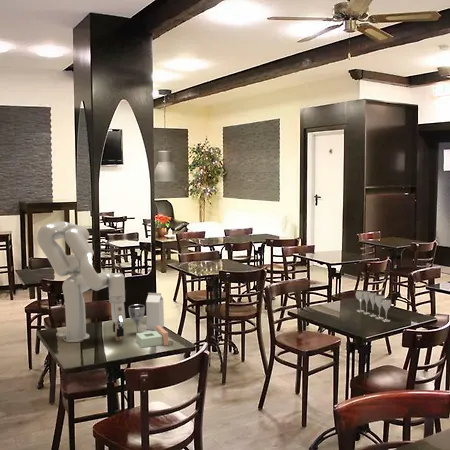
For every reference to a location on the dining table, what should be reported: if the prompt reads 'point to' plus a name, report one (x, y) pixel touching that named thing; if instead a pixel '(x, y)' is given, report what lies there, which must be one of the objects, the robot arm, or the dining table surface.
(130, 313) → the wine glass
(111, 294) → the robot arm
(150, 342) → the tissue box
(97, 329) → the dining table surface
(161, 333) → the orange rectangular block
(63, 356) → the dining table surface
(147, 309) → the milk carton
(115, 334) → the dowel
